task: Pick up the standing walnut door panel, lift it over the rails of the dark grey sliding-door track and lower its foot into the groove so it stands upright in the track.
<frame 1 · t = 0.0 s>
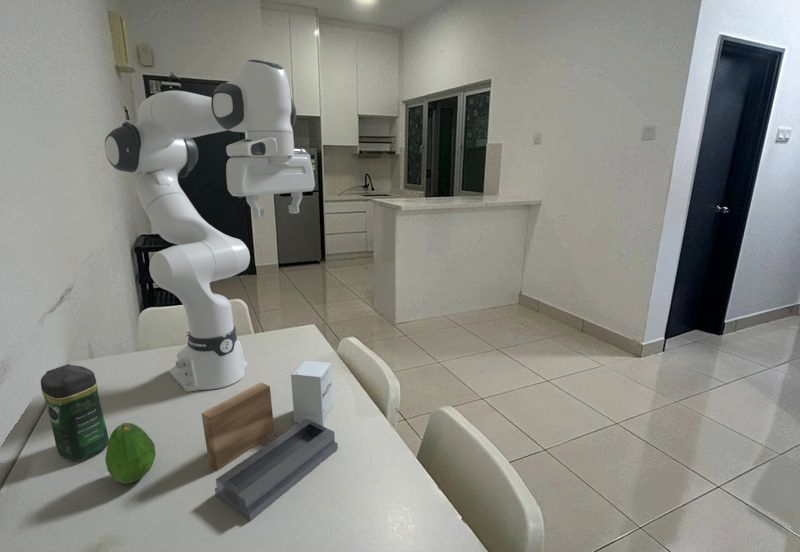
hand: (277, 215, 88), 48 cm above the table, tool pointing down, fingers open, 8 cm apart
supplement box: (314, 416, 100), on the table
door panel: (243, 448, 88), on the table
coffee jar: (85, 449, 88), on the table
door track: (281, 470, 82), on the table
avocado: (136, 478, 80), on the table
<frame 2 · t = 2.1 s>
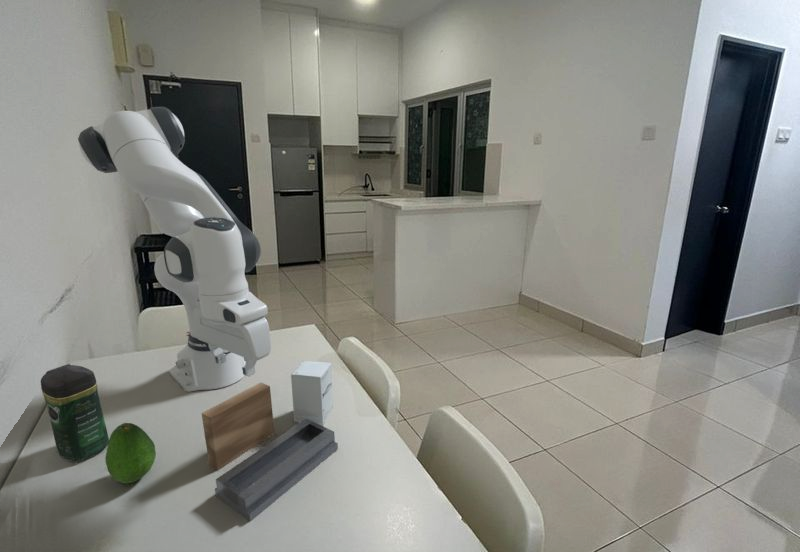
hand: (234, 368, 83), 19 cm above the table, tool pointing down, fingers open, 8 cm apart
nothing on the table moved.
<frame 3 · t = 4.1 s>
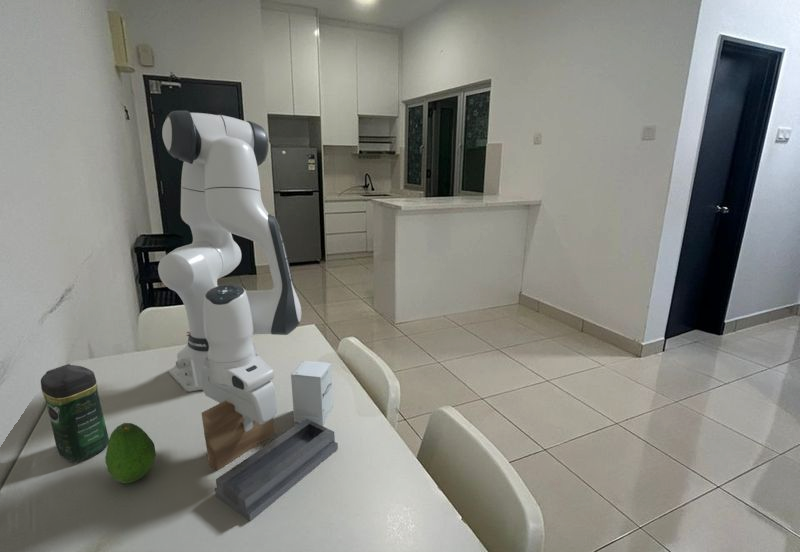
hand: (240, 425, 87), 6 cm above the table, tool pointing down, fingers closed on door panel, 3 cm apart
door panel: (243, 448, 88), on the table, touching gripper
everything else where it was.
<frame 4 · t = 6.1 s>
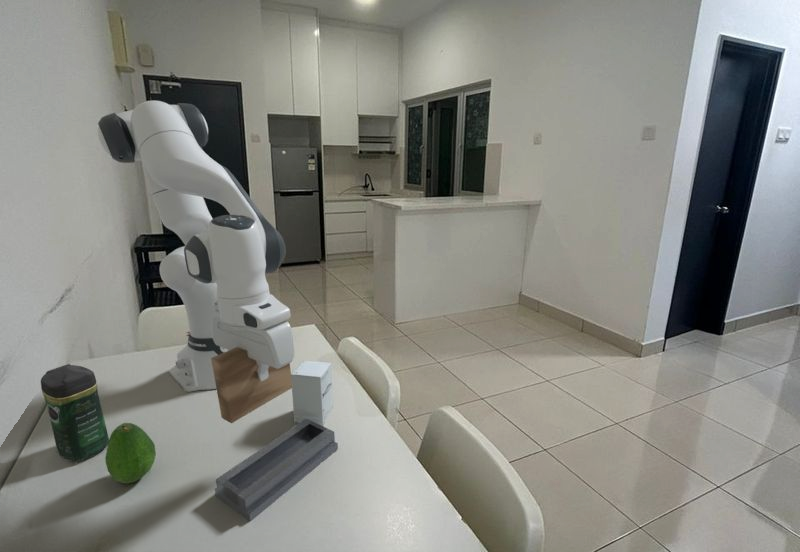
hand: (255, 375, 78), 20 cm above the table, tool pointing down, fingers closed on door panel, 3 cm apart
door panel: (259, 401, 80), point 14 cm above the table, touching gripper
everything else where it was.
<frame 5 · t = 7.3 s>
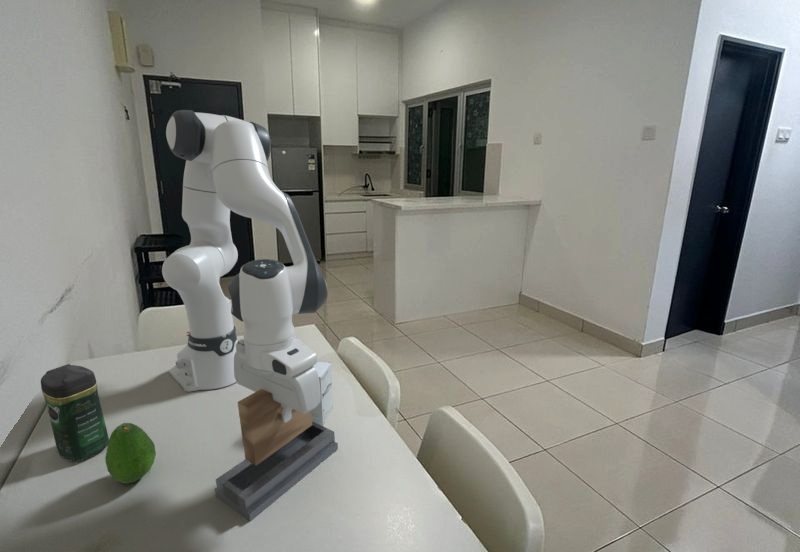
hand: (277, 416, 79), 12 cm above the table, tool pointing down, fingers closed on door panel, 3 cm apart
door panel: (280, 441, 80), point 7 cm above the table, touching gripper
everything else where it was.
when the fingers open (9 cm above the table, at t = 8.3 s): door panel drops 1 cm, resting on door track.
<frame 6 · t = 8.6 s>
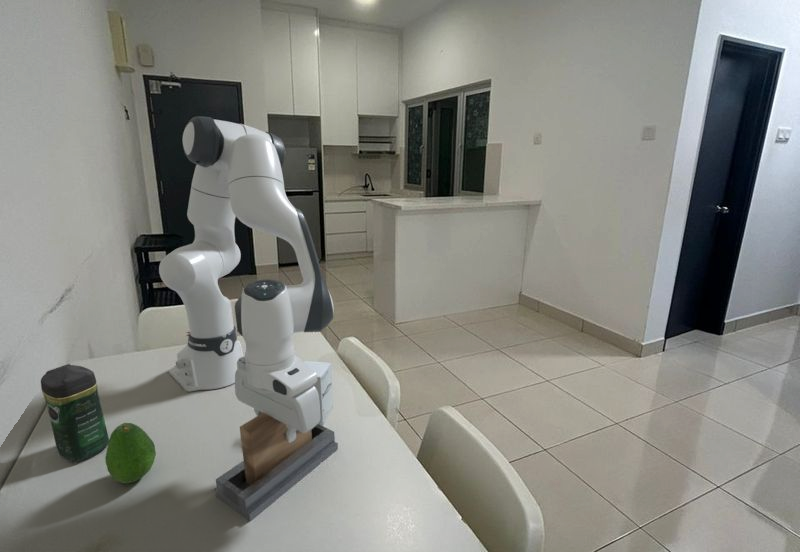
hand: (277, 433, 79), 9 cm above the table, tool pointing down, fingers open, 5 cm apart
door panel: (281, 463, 82), point 1 cm above the table, touching door track
everything else where it was.
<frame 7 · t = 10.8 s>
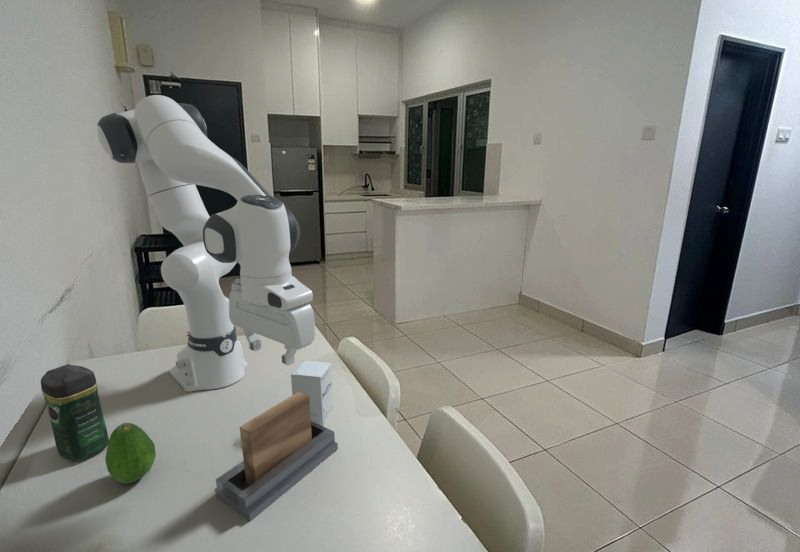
hand: (271, 356, 79), 23 cm above the table, tool pointing down, fingers open, 8 cm apart
nothing on the table moved.
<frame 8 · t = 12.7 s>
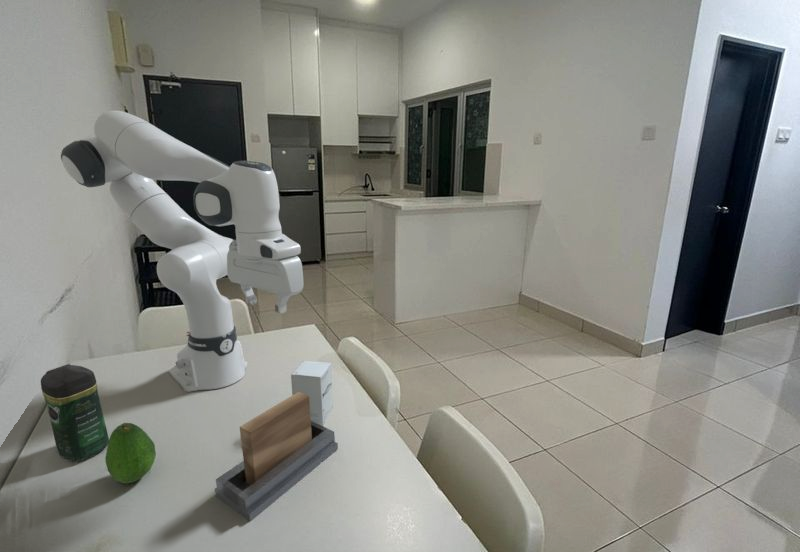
hand: (266, 307, 88), 29 cm above the table, tool pointing down, fingers open, 8 cm apart
nothing on the table moved.
at the end: door panel inside the target area on the door track (0.2 cm from its centre), point 1.5 cm above the door track's base; door panel tilted 0°; the gripper is holding nothing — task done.
